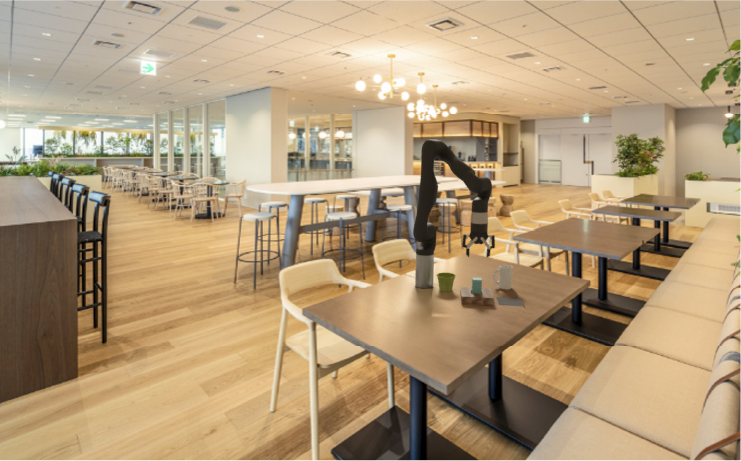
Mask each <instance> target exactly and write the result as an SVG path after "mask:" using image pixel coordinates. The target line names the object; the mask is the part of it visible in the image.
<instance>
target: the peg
mask: <svg viewBox="0 0 741 461" xmlns="http://www.w3.org/2000/svg"><path fill="white" fill-rule="evenodd" d="M471 279H472V280H471V287H472V294H481V290H482V288H483V286H482V284H483V283H482V282H483V279H482V277H473V276H472V278H471Z"/></svg>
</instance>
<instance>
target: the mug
mask: <svg viewBox="0 0 741 461" xmlns="http://www.w3.org/2000/svg"><path fill="white" fill-rule="evenodd" d="M513 270H514V267H513V266H512V265H509V264H500V265H498V268H494V271H493V272H492V281H493V283H494V284H493V285H497V286H498V288H499V289H501V290H511V289H512V283H513V282H512V281H513ZM497 273H498V280H496V274H497Z"/></svg>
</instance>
